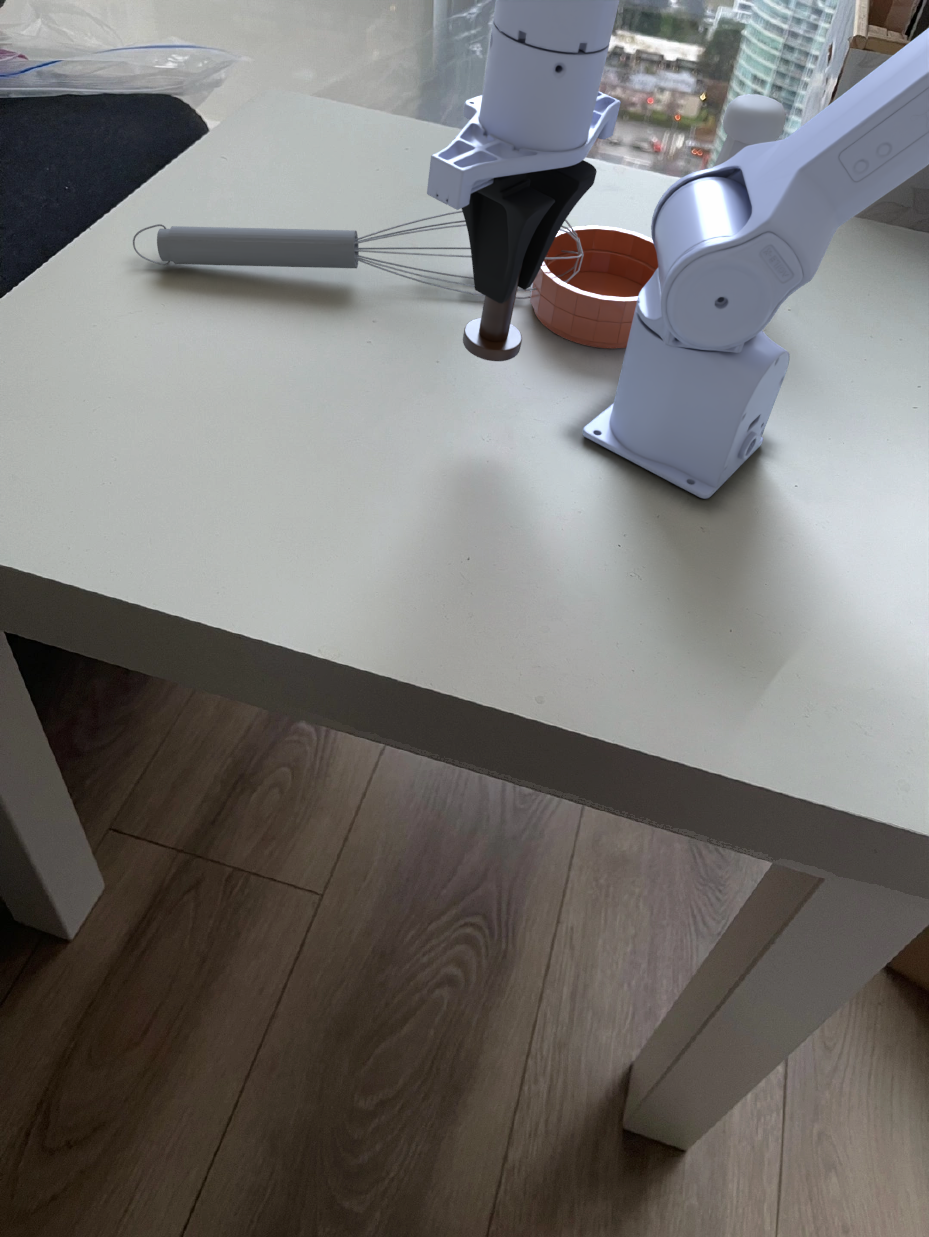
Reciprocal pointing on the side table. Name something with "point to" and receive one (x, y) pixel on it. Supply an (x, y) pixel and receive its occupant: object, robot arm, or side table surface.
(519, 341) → the coffee tamper
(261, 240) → the kitchen whisk
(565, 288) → the bowl
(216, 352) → the side table surface
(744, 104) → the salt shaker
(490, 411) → the side table surface
